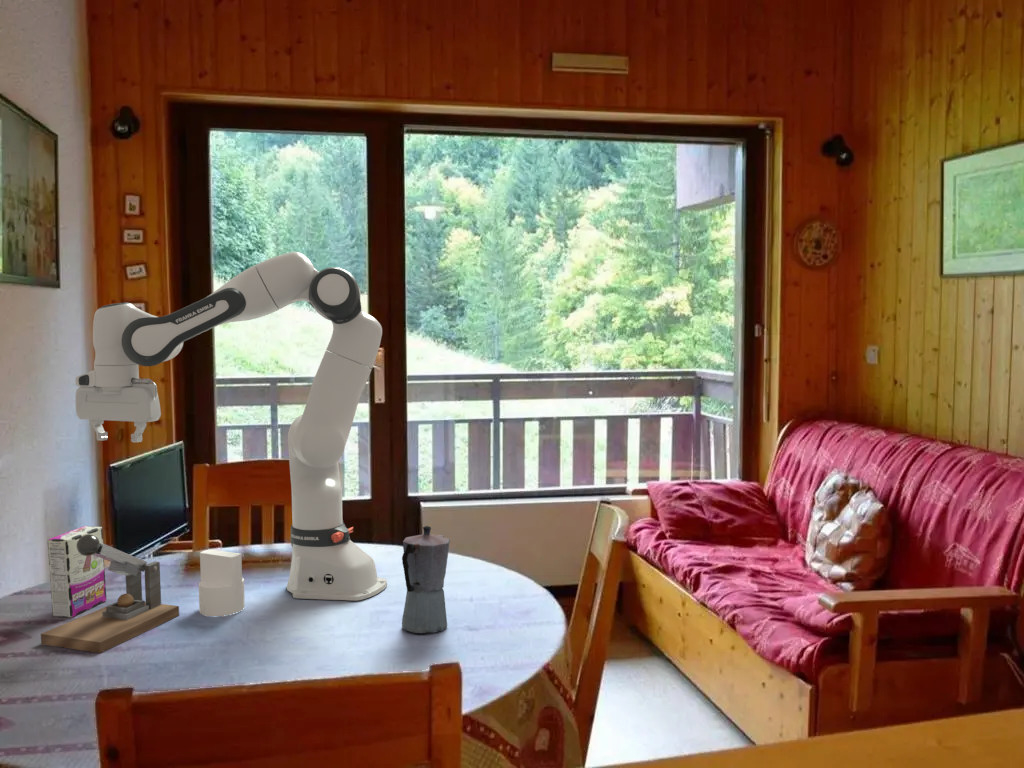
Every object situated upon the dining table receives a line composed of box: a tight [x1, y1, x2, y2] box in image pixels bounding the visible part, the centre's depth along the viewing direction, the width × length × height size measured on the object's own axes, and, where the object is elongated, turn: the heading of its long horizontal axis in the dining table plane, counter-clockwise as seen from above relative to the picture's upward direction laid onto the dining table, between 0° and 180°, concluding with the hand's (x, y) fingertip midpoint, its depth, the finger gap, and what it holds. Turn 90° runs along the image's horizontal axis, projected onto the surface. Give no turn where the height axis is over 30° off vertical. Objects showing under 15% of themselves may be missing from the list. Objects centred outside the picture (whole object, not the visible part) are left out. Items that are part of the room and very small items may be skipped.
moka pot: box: [401, 525, 451, 634], centre depth 170 cm, size 10×15×20 cm, turn 161°
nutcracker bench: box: [40, 561, 180, 654], centre depth 171 cm, size 14×21×11 cm, turn 161°
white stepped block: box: [198, 548, 246, 617], centre depth 182 cm, size 9×9×12 cm
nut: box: [116, 593, 134, 608], centre depth 174 cm, size 3×3×3 cm
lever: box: [77, 534, 148, 576], centre depth 170 cm, size 4×17×4 cm, turn 161°
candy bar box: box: [47, 525, 107, 618], centre depth 183 cm, size 11×5×16 cm, turn 168°
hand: (119, 441), depth 191 cm, fingers open, 8 cm apart
